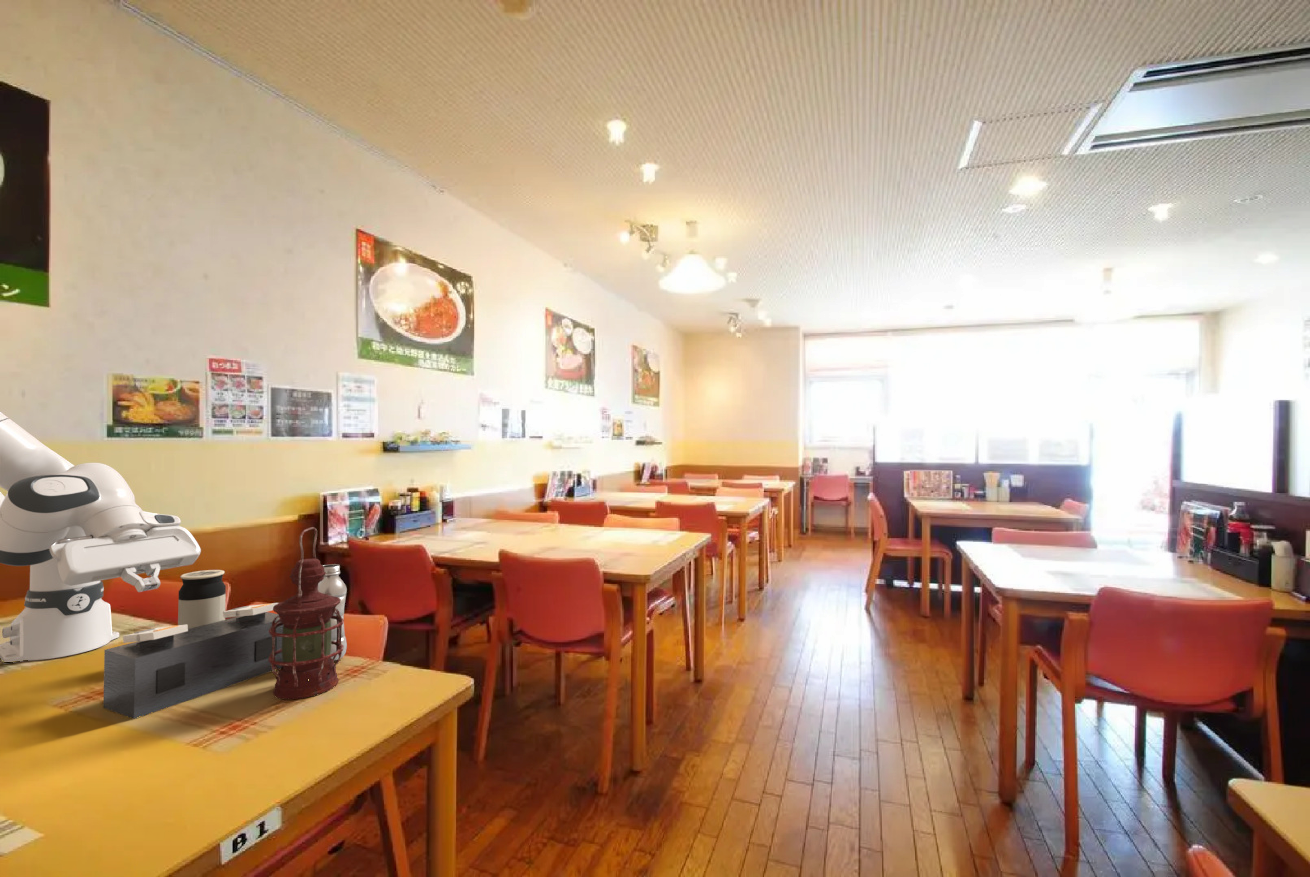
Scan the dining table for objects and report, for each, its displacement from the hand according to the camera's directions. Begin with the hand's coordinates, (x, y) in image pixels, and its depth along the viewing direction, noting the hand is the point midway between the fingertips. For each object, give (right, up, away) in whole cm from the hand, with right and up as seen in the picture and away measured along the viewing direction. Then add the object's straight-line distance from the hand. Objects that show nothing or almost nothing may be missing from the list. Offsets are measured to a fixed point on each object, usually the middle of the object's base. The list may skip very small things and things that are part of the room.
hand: (149, 588), depth 104 cm
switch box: (+8, -19, +3) cm, 21 cm away
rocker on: (+4, -7, -4) cm, 9 cm away
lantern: (+28, -19, +2) cm, 34 cm away
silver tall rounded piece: (+24, -20, +16) cm, 35 cm away
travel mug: (-5, -20, +18) cm, 27 cm away
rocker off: (+11, -7, +11) cm, 17 cm away
